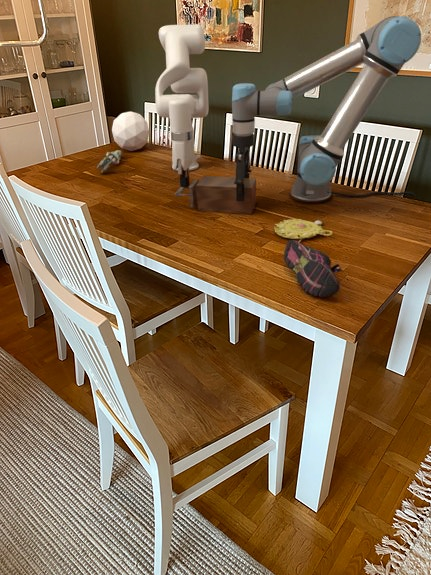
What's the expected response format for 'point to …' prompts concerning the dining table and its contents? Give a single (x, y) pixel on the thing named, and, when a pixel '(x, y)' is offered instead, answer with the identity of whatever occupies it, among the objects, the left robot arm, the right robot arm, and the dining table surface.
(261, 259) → the dining table surface
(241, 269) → the dining table surface
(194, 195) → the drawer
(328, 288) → the athletic shoe
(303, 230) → the decorative object
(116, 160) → the figurine
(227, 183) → the dark brown low box
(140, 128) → the sphere
